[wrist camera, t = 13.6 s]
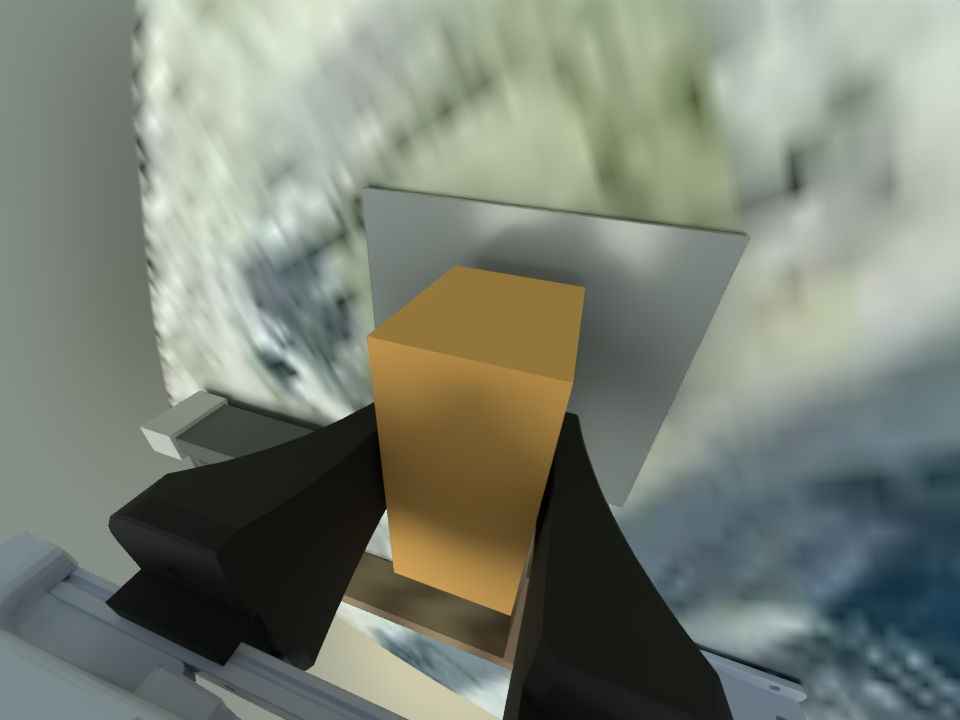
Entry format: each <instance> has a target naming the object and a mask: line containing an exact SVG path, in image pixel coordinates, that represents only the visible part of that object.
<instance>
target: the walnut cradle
mask: <svg viewBox="0 0 960 720" xmlns="http://www.w3.org/2000/svg"><path fill="white" fill-rule="evenodd" d="M535 528H536V524H535V527H534V531H533V535H532V539H531V542H530V546H529V550H528V553H527V557H526V561H525V565H524V568H523V572H522V576H521V580H520V583H519V587H518V591H517V595H516V598H515V602H514V606H513V609H512V613H511V616H510V615H507V614H504V613H502V612H499V611H496V610H493V609H491V608H488V607H485V606H483V605H480V604H477V603H475V602H472V601H469V600H467V599H464V598H461V597H459V596H456V595H453V594H451V593H448V592H445V591H443V590H440V589H437V588H435V587H432V586H429V585H427V584H424V583H421V582H419V581H416V580H413V579H411V578H408V577H405V576H403V575H400V574H397V573H395V572H394V567H393V563H392V562H389V561H386V560H384V559H381V558H378V557H376V556H373V555H370V554H367V553H365V552H364V553H363V555H362V557H361V560H360V562H359V564H358V566H357V568H356V570H355V572H354V574H353V576H352V578H351V581H350V583H349V585H348V587H347V589H346V592H345V594H344V596H343V598H342V600H341V601H342V602H345V603H347V604H350V605H352V606H355V607H357V608H360V609H362V610H364V611H367V612H369V613H372V614H374V615H377V616H379V617H382V618H384V619H387V620H389V621H392V622H394V623H396V624H399V625H401V626H404V627H406V628H409V629H411V630H414V631H416V632H419V633H421V634H424V635H426V636H428V637H431V638H433V639H436V640H438V641H441V642H443V643H446V644H448V645H451V646H453V647H456V648H458V649H460V650H463V651H465V652H468V653H470V654H473V655H475V656H478V657H480V658H483V659H485V660H488V661H490V662H492V663H495V664H497V665H500V666H502V667H505V668H507V669H510V670H512V669H513V663H514V658H515V653H516V648H517V642H518V637H519V632H520V626H521V621H522V616H523V610H524V605H525V599H526V594H527V588H528V583H529V577H530V572H531V566H532V558H533V550H534V539H535Z"/></svg>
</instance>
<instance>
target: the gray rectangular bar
mask: <svg viewBox="0 0 960 720" xmlns="http://www.w3.org/2000/svg"><path fill="white" fill-rule="evenodd" d="M140 428H141V430H142V431H143V433H144V435H145V436H146V438H147V439H148V441H149V443H150V444H151V446H152V448H153V449H154V450H155V451H157V452H160V453H163V454H166V455H168V456H171V457H174V458H177V459H180V460H183V459H184V458H186V457H187V456H191V457H194V458H197V459H200V460H203V461H206V462H209V463H212V464H215V463H219V462H223V461H227V460H230V459H234V458H238V457H241V456H245V455H248V454H252V453H255V452H258V451H262V450H265V449H268V448H271V447H274V446H277V445H280V444H282V443H285V442H288V441H291V440H294V439H296V438H299V437H302V436H305V435H307V434H310V433H312V432H314V431H313V430H310V429H306V428H303V427H300V426H296V425H293V424H290V423H286V422H283V421H279V420H276V419H273V418H269V417H266V416H263V415H259V414H256V413H253V412H249V411H246V410H242V409H239V408H236V407H232V406H229V404H228V402H227V399H226V398H223V397H220V396H216V395H213V394H209V393H206V392H203V391H198V392H197V393H195V394H193V395H192V396H190V397H188V398H187V399H185V400H183V401H182V402H180V403H179V404H177V405H175V406H174V407H172V408H170V409H169V410H167V411H166V412H164V413H162V414H160V415H159V416H157V417H156V418H154V419H152V420H150V421H149V422H147V423H145V424H144V425H142V426H140Z"/></svg>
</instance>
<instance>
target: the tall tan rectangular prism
mask: <svg viewBox="0 0 960 720" xmlns="http://www.w3.org/2000/svg"><path fill="white" fill-rule="evenodd" d="M584 294H585V287H581V286H575V285H569V284H563V283H557V282H551V281H545V280H539V279H533V278H527V277H521V276H516V275H510V274H504V273H498V272H492V271H486V270H480V269H474V268H468V267H462V266H456V265H455V266H454V267H452V268H451V269H450V270H449V271H447V272H446V273H445V274H444V275H442V276H441V277H440V278H439V279H438V280H436V281H435V282H434V283H433V284H431V285H430V286H429V287H428V288H426V289H425V290H424V291H423V292H421V293H420V294H419V295H418V296H416V297H415V298H414V299H413V300H412V301H410V302H409V303H408V304H407V305H405V306H404V307H403V308H402V309H400V310H399V311H398V312H397V313H395V314H394V315H393V316H392V317H390V318H389V319H388V320H387V321H385V322H384V323H383V324H382V325H381V326H379V327H378V328H377V329H376V330H374V331H373V332H372V333H371V334H369V335H368V336H367V342H368V350H369V359H370V368H371V376H372V385H373V394H374V402H375V411H376V420H377V428H378V437H379V446H380V454H381V463H382V472H383V480H384V489H385V497H386V506H387V515H388V523H389V532H390V541H391V549H392V558H393V567H394V572H395V573H397V574H400V575H403V576H405V577H408V578H411V579H413V580H416V581H419V582H421V583H424V584H427V585H429V586H432V587H435V588H437V589H440V590H443V591H445V592H448V593H451V594H453V595H456V596H459V597H461V598H464V599H467V600H469V601H472V602H475V603H477V604H480V605H483V606H485V607H488V608H491V609H493V610H496V611H499V612H502V613H504V614H507V615H510V616H511V613H512V609H513V605H514V601H515V598H516V594H517V590H518V587H519V583H520V579H521V575H522V572H523V568H524V564H525V560H526V557H527V553H528V549H529V546H530V542H531V538H532V534H533V531H534V527H535V523H536V519H537V516H538V512H539V508H540V505H541V501H542V497H543V493H544V490H545V486H546V482H547V478H548V475H549V471H550V467H551V464H552V460H553V456H554V452H555V449H556V445H557V441H558V437H559V434H560V430H561V426H562V423H563V419H564V415H565V411H566V408H567V404H568V400H569V396H570V393H571V389H572V385H573V380H574V372H575V364H576V356H577V349H578V341H579V333H580V325H581V317H582V309H583V302H584Z"/></svg>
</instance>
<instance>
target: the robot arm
mask: <svg viewBox="0 0 960 720" xmlns="http://www.w3.org/2000/svg"><path fill="white" fill-rule="evenodd" d="M386 509H387V506H386V497H385V489H384V480H383V472H382V463H381V454H380V446H379V437H378V428H377V420H376V411H375V402H373V403H371V404H370V405H368V406H366V407H364V408H362V409H360V410H358V411H356V412H354V413H353V414H351V415H349V416H347V417H345V418H343V419H341V420H339V421H337V422H335V423H333V424H330V425H328V426H326V427H324V428H321V429H319V430H317V431H314V432H312V433H310V434H307V435H305V436H302V437H299V438H296V439H294V440H291V441H288V442H285V443H282V444H280V445H277V446H274V447H271V448H268V449H265V450H262V451H258V452H255V453H252V454H248V455H245V456H241V457H238V458H234V459H230V460H227V461H223V462H219V463H215V464H210V465H206V466H201V467H197V468H192V469H188V470H183V471H179V472H174V473H169V474H166V475H165V476H163V477H162V478H161V479H159V480H158V481H157V482H155V483H154V484H153V485H151V486H150V487H149V488H147V489H146V490H145V491H143V492H142V493H141V494H139V495H138V496H137V497H135V498H134V499H133V500H131V501H130V502H129V503H127V504H126V505H125V506H123V507H122V508H121V509H119V510H118V511H117V512H115V513H114V514H113V515H111V516H110V520H109V525H108V526H109V529H110V531H111V533H112V534H113V536H114V537H115V538H116V540H117V541H118V542H119V543H120V544H121V546H122V547H123V548H124V549H125V550H126V552H127V553H128V554H129V555H130V556H131V557H132V559H133V560H134V561H135V562H136V563H137V564H138V566H139V567H140V568H141V570H140V571H139V572H138V573H136V574H135V575H134V576H133V577H132V578H131V579H130V580H129V581H128V582H127V583H125V585H123V586H120V585H118V584H116V583H114V582H112V581H109V580H107V579H105V578H103V577H101V576H98V575H96V574H94V573H92V572H90V571H88V570H86V569H83V568H81V567H79V566H78V563H77V562H76V561H75V559H74V558H73V557H72V556H71V555H69V554H68V553H67V552H66V551H65V550H63V549H62V548H60V547H59V546H57V545H55V544H53V543H51V542H49V541H47V540H45V539H42V538H40V537H38V536H36V535H34V534H31V533H29V532H27V531H22V532H19V533H17V534H16V535H14V536H13V537H11V538H10V539H8V540H6V541H5V542H3V543H2V544H1V545H0V720H241V719H239V718H238V717H237V716H236V715H235V714H234V713H233V712H232V711H231V710H230V709H229V708H228V707H227V706H226V705H225V703H224V702H223V700H222V699H221V698H220V697H218V696H216V695H215V694H213V693H211V692H210V691H208V690H207V689H205V688H204V687H202V686H200V685H198V684H197V683H195V681H196V679H195V674H196V675H198V676H200V677H202V678H204V679H206V680H208V681H210V682H212V683H214V684H216V685H218V686H220V687H221V688H224V689H226V690H227V691H230V692H231V693H233V694H235V695H237V696H239V697H241V698H243V699H245V700H247V701H249V702H251V703H253V704H255V705H257V706H259V707H261V708H263V709H265V710H267V711H269V712H271V713H273V714H275V715H277V716H279V717H281V718H283V719H285V720H408V719H406V718H404V717H402V716H400V715H397V714H395V713H393V712H391V711H389V710H387V709H385V708H382V707H380V706H378V705H376V704H374V703H372V702H370V701H367V700H365V699H363V698H361V697H358V696H357V695H354V694H352V693H350V692H348V691H346V690H344V689H341V688H340V687H337V686H335V685H333V684H331V683H329V682H327V681H324V680H322V679H320V678H318V677H316V676H314V675H311V674H309V673H307V672H305V671H306V670H308V669H309V668H310V667H312V666H313V665H314V663H315V661H316V659H317V656H318V653H319V651H320V649H321V646H322V644H323V641H324V640H325V637H326V635H327V632H328V630H329V628H330V625H331V623H332V621H333V618H334V616H335V614H336V611H337V609H338V607H339V605H340V603H341V600H342V598H343V596H344V594H345V592H346V589H347V587H348V585H349V583H350V581H351V578H352V576H353V574H354V572H355V570H356V568H357V566H358V564H359V562H360V560H361V557H362V555H363V553H364V551H365V549H366V547H367V545H368V543H369V541H370V539H371V537H372V535H373V533H374V531H375V529H376V527H377V525H378V523H379V521H380V519H381V517H382V516H383V514H384V512H385V510H386ZM806 698H807V695H806V692H805V689H804V688H803V687H802V686H801V685H799V684H797V683H794V682H791V681H788V680H785V679H783V678H780V677H777V676H774V675H771V674H768V673H766V672H763V671H760V670H757V669H754V668H751V667H749V666H746V665H743V664H740V663H737V662H734V661H732V660H729V659H726V658H723V657H720V656H717V655H715V654H712V653H709V652H706V651H703V650H700V649H699V648H698V647H697V646H696V645H695V643H694V642H693V641H692V639H691V638H690V637H689V635H688V634H687V633H686V631H685V630H684V629H683V627H682V626H681V625H680V623H679V622H678V620H677V619H676V618H675V616H674V615H673V613H672V612H671V610H670V609H669V607H668V606H667V605H666V603H665V602H664V600H663V599H662V597H661V596H660V594H659V593H658V591H657V590H656V588H655V587H654V585H653V583H652V582H651V580H650V579H649V577H648V576H647V574H646V572H645V571H644V569H643V568H642V566H641V564H640V563H639V561H638V560H637V558H636V556H635V555H634V553H633V551H632V550H631V548H630V546H629V544H628V543H627V541H626V539H625V537H624V535H623V534H622V532H621V530H620V528H619V526H618V524H617V522H616V520H615V518H614V516H613V514H612V512H611V510H610V508H609V506H608V504H607V502H606V499H605V497H604V495H603V492H602V490H601V488H600V485H599V483H598V480H597V478H596V475H595V473H594V470H593V467H592V464H591V461H590V459H589V456H588V453H587V449H586V446H585V442H584V439H583V435H582V431H581V426H580V420H579V417H578V416H577V414H573V413H569V412H565V415H564V419H563V423H562V426H561V430H560V434H559V437H558V441H557V445H556V449H555V452H554V456H553V460H552V464H551V467H550V471H549V475H548V478H547V482H546V486H545V490H544V493H543V497H542V501H541V505H540V508H539V512H538V516H537V519H536V528H535V539H534V550H533V558H532V566H531V572H530V577H529V583H528V588H527V594H526V599H525V605H524V610H523V616H522V621H521V626H520V632H519V637H518V642H517V648H516V653H515V658H514V663H513V669H512V674H511V679H510V684H509V690H508V695H507V700H506V705H505V710H504V716H503V720H806V719H805V716H804V713H803V711H802V708H801V705H800V703H799V702H801V701H803V700H805V699H806Z"/></svg>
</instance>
